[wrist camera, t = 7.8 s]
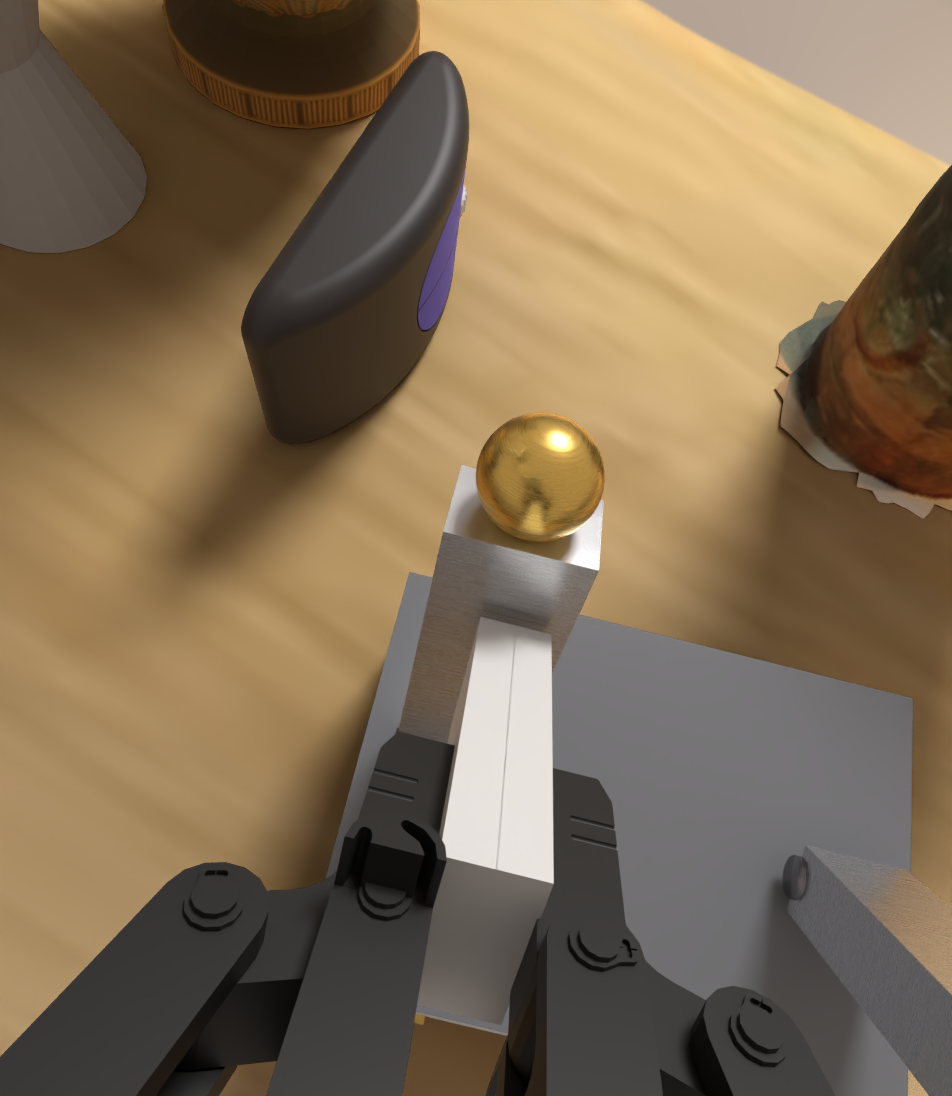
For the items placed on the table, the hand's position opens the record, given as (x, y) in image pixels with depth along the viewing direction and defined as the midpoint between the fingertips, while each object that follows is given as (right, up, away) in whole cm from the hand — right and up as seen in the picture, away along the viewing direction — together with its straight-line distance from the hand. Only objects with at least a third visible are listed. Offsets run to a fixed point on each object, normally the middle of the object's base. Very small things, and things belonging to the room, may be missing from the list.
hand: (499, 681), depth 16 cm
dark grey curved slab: (-6, +14, +22) cm, 27 cm away
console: (+3, -8, +14) cm, 17 cm away
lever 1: (-2, -4, +7) cm, 8 cm away
